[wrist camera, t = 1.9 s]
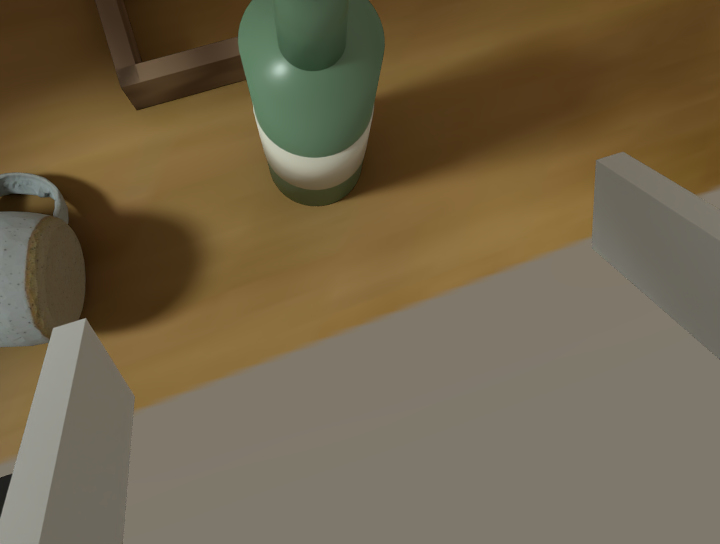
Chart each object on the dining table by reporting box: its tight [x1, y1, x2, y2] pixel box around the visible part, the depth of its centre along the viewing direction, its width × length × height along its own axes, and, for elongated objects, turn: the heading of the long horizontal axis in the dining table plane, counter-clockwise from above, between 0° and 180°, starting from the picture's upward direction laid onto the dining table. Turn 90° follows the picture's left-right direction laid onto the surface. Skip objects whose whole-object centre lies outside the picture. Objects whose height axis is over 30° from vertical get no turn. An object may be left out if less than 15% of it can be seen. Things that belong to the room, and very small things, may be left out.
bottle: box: [238, 0, 385, 206], centre depth 28 cm, size 6×6×20 cm
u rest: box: [95, 0, 246, 110], centre depth 37 cm, size 10×10×3 cm
